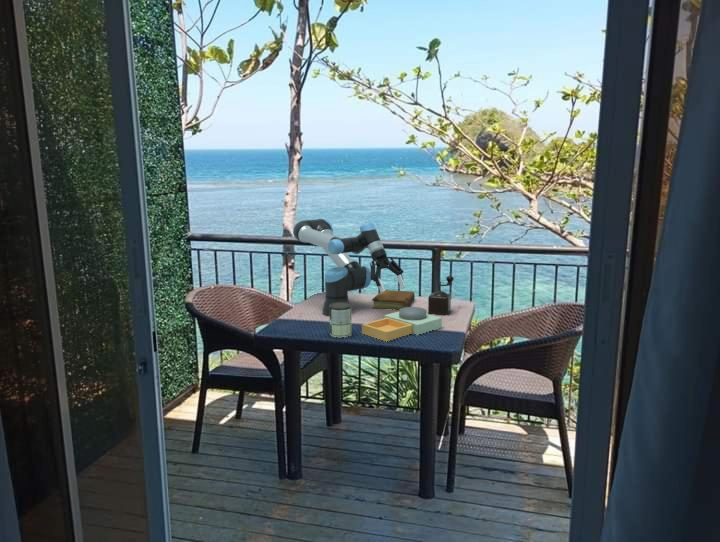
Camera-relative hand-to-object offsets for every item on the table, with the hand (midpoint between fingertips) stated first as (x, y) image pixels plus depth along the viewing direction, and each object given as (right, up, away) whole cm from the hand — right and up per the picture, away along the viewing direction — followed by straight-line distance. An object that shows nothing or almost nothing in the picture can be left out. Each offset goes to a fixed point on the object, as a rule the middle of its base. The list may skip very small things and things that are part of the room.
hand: (393, 289), depth 284 cm
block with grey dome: (+9, -17, -9) cm, 21 cm away
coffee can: (-25, -20, -20) cm, 38 cm away
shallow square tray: (-4, -20, -20) cm, 28 cm away
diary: (+2, -10, +33) cm, 34 cm away
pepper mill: (+26, -12, +18) cm, 34 cm away
